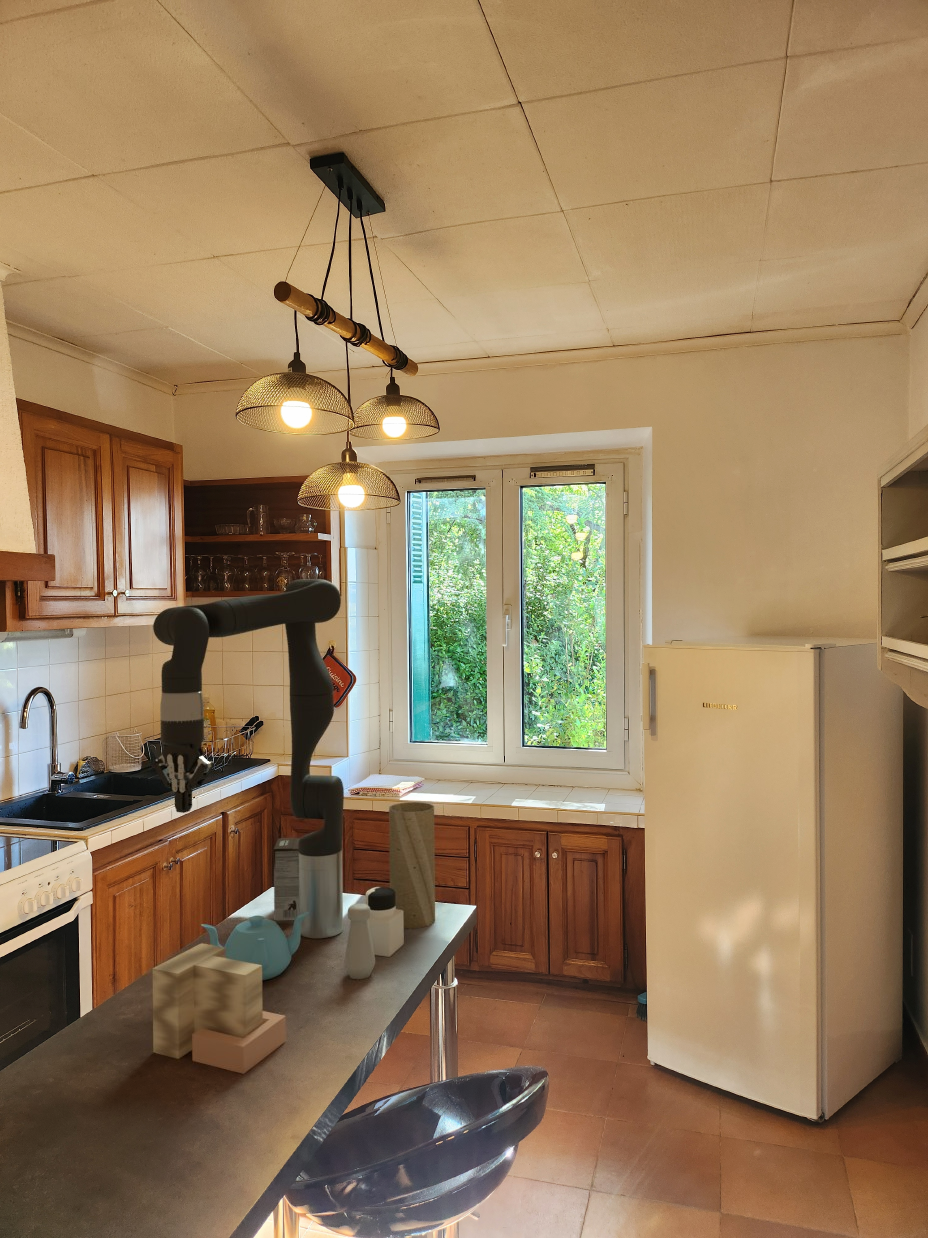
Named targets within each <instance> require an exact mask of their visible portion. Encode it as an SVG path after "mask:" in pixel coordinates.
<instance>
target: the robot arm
mask: <svg viewBox="0 0 928 1238" xmlns="http://www.w3.org/2000/svg"><path fill="white" fill-rule="evenodd" d="M341 604H342V597H341V594H340V591H339V588H338V587H337V585H335V584H334V583H332V582H331V581H329V580H326V579H319V578H308V579H307V578H306V579H304V578H303V579H302V578H301V579H295V580H293V581H291V582H290V583H289V584H288V585H287V586H286V588H285V590H284V592H281V593H275V594H273V593H272V594H260V595H259V594H258V595H247V596H246V595H245V596H240V597H231V598H226V599H220V600H216V601H213V602H207V603H204V604H192V605H182V606H174V607H168V608H165V609H164V610H161V612H160V613H158V615H157V616H156V617H155V619H154V621H153V624H152V625H153V626H152V629H153V634H154V635H155V637H156V638H157V639H158V641H159V642H161V643H162V644H164V645H168V646H170V647H171V646H173V648H172V653H171V658H170V659H169V660H166V661H164V663H163V664H162V666H161V675H160V677H161V678H160V679H161V697H160V698H161V699H160V709H159V711H160V713H159V714H160V715H159V716H160V743H161V744H162V745H163V748H162V750H161V755H160V756H159V757H158V758H156V759H153V760H152V762H151V763H152V764H151V765H152V766H153V768H154V769H155V771H156V773H157V775H158V777H159V778H160V780H161V781H162V783H163V785H164V786H165V788H167V789H168V788H170V789H171V790H172V791H173V793H174V808H175V811H176V813H180V814H181V813H183V814H184V813H185V814H186V813H187V812H190V811H191V809H192V807H193V790H196V789H197V788H201V787H202V785H203V784H204V782H205V781H206V779H207V777H208V776H209V774H210V773H211V771H212V770H213V769H214V766H215V763H214V761H212V760H210V761H209V760H207V759H206V758H205V756H204V753H205V752H204V750H203V748H202V744H203V742H204V740H205V714H204V713H205V711H204V710H205V708H204V706H205V705H204V698H203V673H202V671H203V670H202V669H203V664H204V662H205V658H206V652H207V649H208V644H209V639H211V638H226V637H230V636H231V637H232V636H235V635H240V634H244V633H249V632H253V631H257V630H261V629H266V628H270V627H274V626H280V625H284V627H285V634H286V642H287V653H288V654H287V655H288V656H287V657H288V673H289V713H290V714H289V715H290V729H291V731H290V732H291V761H290V763H291V764H290V765H291V766H290V782H289V783H290V785H289V787H290V788H289V803H290V808H291V809H290V810H291V812H292V814H293V816H294V817H295V818H296V819H299V820H301V819H302V820H323V827H321V828H319V829H318V830H315V831H313V832H310V833H306V834H305V835H302V836H301V837H299V838H300V839H299V843H298V851H299V915H301V914H303V913H305V912H309V913H308V914H307V915H306V916H305V917H304V919H303V921H302V923H301V936H302V937H305V938H309V939H325V938H331V937H334V936H337V935H339V934H341V933H342V932H343V929H344V924H343V923H344V917H343V916H344V915H343V913H344V912H343V911H344V908H343V907H344V906H343V902H344V901H343V900H344V899H343V896H344V895H343V891H344V890H343V836H344V835H343V834H344V833H343V831H344V829H343V827H344V825H343V824H344V822H343V821H344V803H345V802H344V800H345V799H344V797H345V795H344V794H345V791H344V789H345V788H344V783H343V780H342V779H341V778H340V777H339V776H337V775H324V774H323V775H319V774H318V775H316V774H315V775H313V774H312V775H311V761H312V757H313V754H314V752H315V749H316V747H317V746H318V744H319V742H320V740H321V739H322V737H323V735H324V734H325V732H327V729H328V728H329V726H330V724H331V723H332V720H333V717H334V712H335V711H334V709H335V701H334V698H335V697H334V683H333V680H332V676H331V673H330V671H329V669H328V667H327V665H326V663H325V661H324V659H323V657H322V655H321V653H320V650H319V646H318V643H317V629H316V624H320V623H326V622H329V621H330V620H332V619H334V618H335V617H336V615H337V614H338V613H339V611H340V610H341V609H340V608H341Z"/></svg>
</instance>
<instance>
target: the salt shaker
mask: <svg viewBox="0 0 928 1238" xmlns="http://www.w3.org/2000/svg"><path fill="white" fill-rule="evenodd" d="M370 913H371V911H370V907H369V906H368V905H366V903H354V904H352V905H350V906H349V907H348V909H347V918H348V920H349V921H350V923H349V930H348V936H347V942H346V949H345V950H346V951H345V956H344V968H345V970H346V971H347V974H348V975H349V978H350V979H351V980H352V979H353V980H359V979H360V980H365V979H369V977H370V975H371V974H372V972H373V969H374V967H375V965H376V957H375V956H376V955H374V951H373V945H372V940H371V935H370V930H369V925H368V919H369V918H370Z"/></svg>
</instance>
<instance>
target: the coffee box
mask: <svg viewBox="0 0 928 1238" xmlns="http://www.w3.org/2000/svg"><path fill="white" fill-rule="evenodd" d="M300 838H301V837H297V838H296V837H282V838H281V837H280V838H277V840H276V843H275V845H274V848H273V903H274V904H273V908H274V909H273V911H274V913H273V914H274V919H273V921H295V919H296V918H297V917H298V916H299V851H298V843H299V839H300Z"/></svg>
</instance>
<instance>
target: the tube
mask: <svg viewBox="0 0 928 1238" xmlns="http://www.w3.org/2000/svg"><path fill="white" fill-rule="evenodd" d="M388 821H389V822H388V826H389V827H388V830H389V831H388V832H389V836H388V837H389V840H388V841H389V843H388V844H389V847H388V848H389V888H391V889H393V890H394V891H395V893H396V909H398V910H403V920H404V929H420V928H424V927H428V926H431V925H432V924H434V923H435V921H436V874H435V873H436V872H435V868H436V864H435V862H436V861H435V859H436V858H435V856H436V855H435V852H436V850H435V849H436V848H435V805H433V804H431V803H429V802H428V803H427V802H418V801H414V802H412V801H411V802H410V801H409V802H401V803H395V804H393V805H389V807H388Z"/></svg>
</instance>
